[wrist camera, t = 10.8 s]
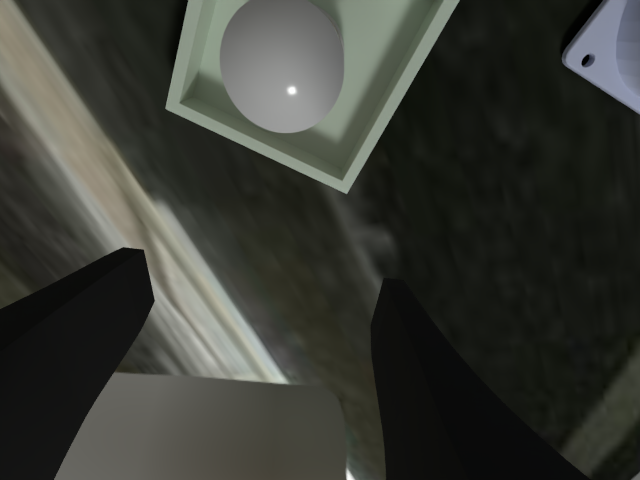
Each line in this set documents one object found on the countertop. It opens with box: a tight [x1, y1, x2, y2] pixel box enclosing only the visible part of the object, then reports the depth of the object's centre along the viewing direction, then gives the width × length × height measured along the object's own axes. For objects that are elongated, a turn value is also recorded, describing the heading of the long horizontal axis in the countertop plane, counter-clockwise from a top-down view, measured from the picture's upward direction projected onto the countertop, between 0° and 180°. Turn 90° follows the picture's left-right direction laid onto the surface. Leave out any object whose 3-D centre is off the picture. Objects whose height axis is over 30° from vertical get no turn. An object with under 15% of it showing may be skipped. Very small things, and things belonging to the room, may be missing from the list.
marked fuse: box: [220, 0, 344, 133], centre depth 12 cm, size 4×4×6 cm
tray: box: [165, 0, 459, 194], centre depth 14 cm, size 9×9×2 cm
